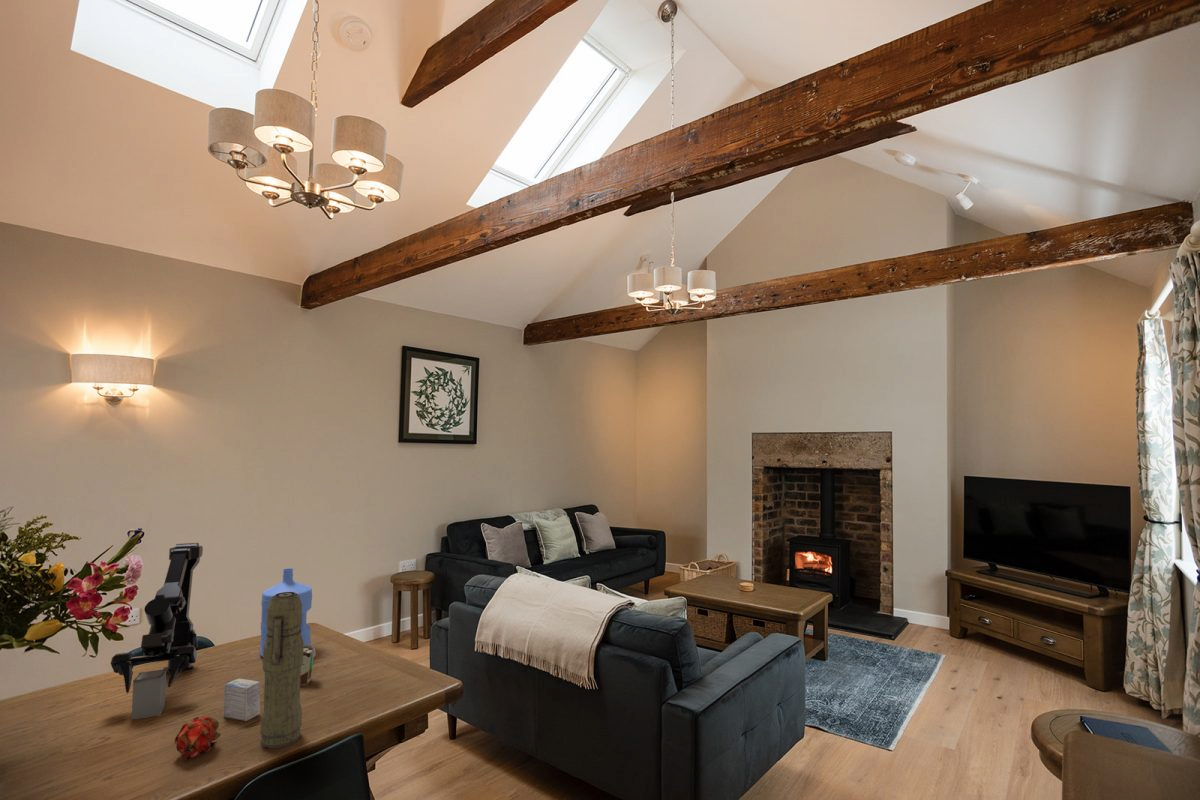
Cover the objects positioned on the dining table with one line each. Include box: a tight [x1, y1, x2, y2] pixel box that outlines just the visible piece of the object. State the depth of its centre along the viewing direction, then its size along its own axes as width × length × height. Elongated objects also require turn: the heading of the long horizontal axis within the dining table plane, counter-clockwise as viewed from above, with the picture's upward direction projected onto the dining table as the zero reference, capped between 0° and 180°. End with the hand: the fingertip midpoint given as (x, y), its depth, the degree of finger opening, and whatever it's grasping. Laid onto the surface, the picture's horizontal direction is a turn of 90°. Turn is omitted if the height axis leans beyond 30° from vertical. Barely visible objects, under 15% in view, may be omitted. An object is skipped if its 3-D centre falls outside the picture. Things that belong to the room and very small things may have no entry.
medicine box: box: [223, 678, 261, 722], centre depth 162 cm, size 8×4×9 cm, turn 71°
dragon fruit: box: [174, 714, 221, 761], centre depth 142 cm, size 8×8×12 cm
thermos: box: [259, 592, 304, 749], centre depth 150 cm, size 9×12×35 cm
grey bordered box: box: [131, 669, 167, 720], centre depth 163 cm, size 6×6×10 cm
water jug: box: [259, 568, 313, 658], centre depth 210 cm, size 16×16×28 cm
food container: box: [300, 644, 317, 685], centre depth 185 cm, size 12×6×10 cm, turn 84°
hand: (148, 689), depth 162 cm, fingers open, 9 cm apart
